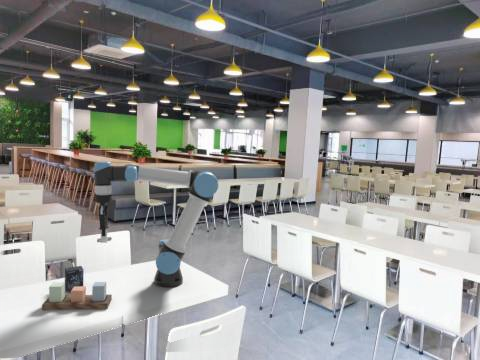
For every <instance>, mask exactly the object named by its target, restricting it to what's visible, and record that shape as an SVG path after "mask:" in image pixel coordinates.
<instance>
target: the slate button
mask: <svg viewBox="0 0 480 360" xmlns="http://www.w3.org/2000/svg"><path fill="white" fill-rule="evenodd" d="M91 287H92V288H91V291H92V293H91V295H92V301H104V300H105V298H106V295H107V281H95V282H94V283H93V284H92V286H91Z"/></svg>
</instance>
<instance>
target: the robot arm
mask: <svg viewBox="0 0 480 360" xmlns="http://www.w3.org/2000/svg"><path fill="white" fill-rule="evenodd" d="M93 169H94V170H93V174H94V187H93V188H92V189H93V190H94V193H95V195H94V202H95V203H97V204H99V206H98V216H99V220H98V221H99V227H98V231H99V230H100V243H101V244H102V243H103V244H104V243H106V244H107V243H108V229H109V226H108V223H109V222H108V220H109V219H108V217H109V216H108V215H109V214H108V213H109V205H108V204H109V203H111V202H112V200H113V198H112V189H113V188H112V182H119V183H121V182H125V183H126V182H128V183H130V182H136V181H141V182H143V181H144V182H150V183H156V184H157V183H158V184H159V183H160V184H166V185H173V186H174V185H175V186H184V187H187V189H189V191H188V192H187V193H188V195H189V197H188V200H187V201H186V203H185V206H184V208H183V210H182V212H181V214H180V216H179V218H178V220H177V222H176V224H175V226H174V229H173V230H172V232H171V234H170V237H169V238H167V239H160V240H159V241H158V245H157V247H158V248H157V249H158V251H157V256H156V258H155V266H156V268H157V269H156V271H155V275H154V278H153V283H154V285H155V286H157V287H163V288H173V287H176V286H180V285H182V284H183V283H184V282H183V280H184V277H183V274H182V270H181V262H182V260H183V258H184V256H185V254H186V245H187V243H188V240H189V239H190V237H191V235H192V233H193V231H194V228H195V226H196V224H197V222H198V220H199V219H200V216H201V214H202V212H203V210H204V208H205V206H206V205H207V204H210V203H211V200H212V198H213V197H214V196H215V195H216V193H217V191H218V189H219V180H218V178H217V176H216V175H215V174H213V172H212V171H209V170H192V169H190V170H188V171H184V170H176V169H167V168H160V167H152V166H151V167H150V166H143V165H134V164H132V163H131V164H130V163H126V164H124V165H112V162H111V161H96V162H94V168H93Z"/></svg>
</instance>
